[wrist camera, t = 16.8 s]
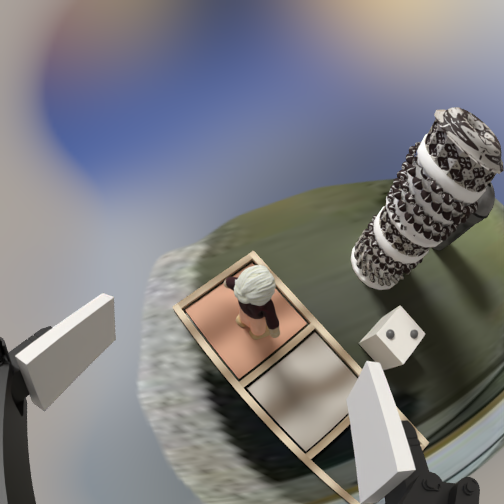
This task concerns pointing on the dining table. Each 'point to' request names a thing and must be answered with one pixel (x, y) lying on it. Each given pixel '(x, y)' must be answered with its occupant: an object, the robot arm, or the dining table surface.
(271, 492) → the dining table surface
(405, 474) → the robot arm
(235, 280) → the grandmother figurine
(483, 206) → the beverage cup
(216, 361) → the wooden flat rectangular frame
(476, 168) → the decorative candle
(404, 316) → the ivory die
